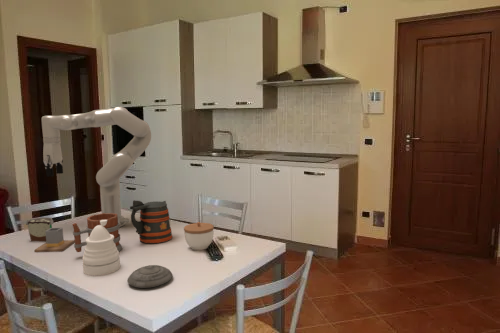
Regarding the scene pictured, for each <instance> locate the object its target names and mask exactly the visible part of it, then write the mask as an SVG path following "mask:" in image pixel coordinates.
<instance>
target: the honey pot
mask: <svg viewBox="0 0 500 333" xmlns="http://www.w3.org/2000/svg"><path fill="white" fill-rule="evenodd" d="M100 224H101V225H97V226H96V227H95V228H94V229H93V230H92V232H91V234H90V236H89V237H88V236H87V238H85V241H84V242H86V243H87V245H85V247H84V252H83V255H82V269H83V270H82V271H83V274H85V275H87V276H93V277H94V276H95V277H96V276H105V275H108V274H112V273H114V272H117V271H118V270H119V269H120V268H121V259H120V251H119V252H118V250H117V247H116V244H115V243H114V241H113V239H114V235H112V234H109V232H108V231H107V230H106V228H105V227H103V226H105V225H106V224H107V220H101V221H100Z"/></svg>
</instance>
